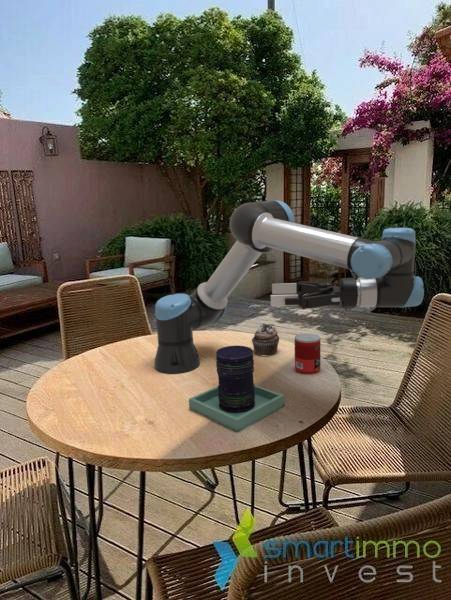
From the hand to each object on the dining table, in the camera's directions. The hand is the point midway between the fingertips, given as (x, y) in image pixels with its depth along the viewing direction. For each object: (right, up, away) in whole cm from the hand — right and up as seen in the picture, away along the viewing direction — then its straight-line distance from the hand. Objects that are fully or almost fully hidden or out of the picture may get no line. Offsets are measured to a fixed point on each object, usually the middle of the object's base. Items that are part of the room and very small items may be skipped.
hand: (271, 294), depth 118 cm
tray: (-9, -30, +5) cm, 32 cm away
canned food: (+14, -24, +28) cm, 39 cm away
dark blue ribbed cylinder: (-9, -30, +5) cm, 31 cm away
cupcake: (+3, -20, +45) cm, 50 cm away
